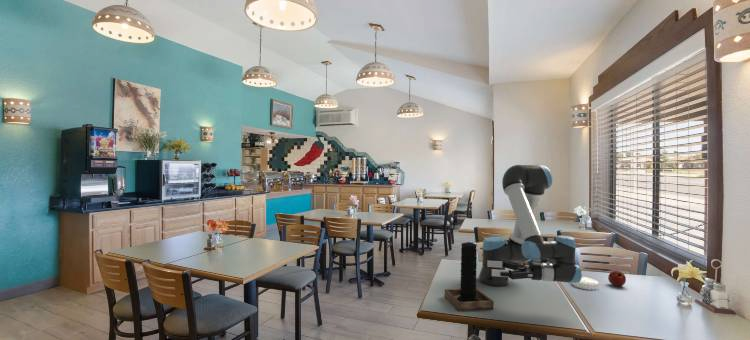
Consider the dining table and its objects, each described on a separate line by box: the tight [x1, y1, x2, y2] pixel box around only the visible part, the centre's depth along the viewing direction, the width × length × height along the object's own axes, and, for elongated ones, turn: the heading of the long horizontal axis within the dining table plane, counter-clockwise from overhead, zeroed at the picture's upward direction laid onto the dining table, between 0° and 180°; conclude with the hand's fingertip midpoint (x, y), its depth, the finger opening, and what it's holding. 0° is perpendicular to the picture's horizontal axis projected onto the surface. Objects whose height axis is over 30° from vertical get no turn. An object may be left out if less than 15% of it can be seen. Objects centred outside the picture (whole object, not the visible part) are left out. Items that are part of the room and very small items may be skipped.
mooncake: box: [571, 276, 600, 291], centre depth 179 cm, size 12×12×4 cm
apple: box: [607, 270, 627, 287], centre depth 180 cm, size 7×8×8 cm
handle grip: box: [457, 241, 479, 302], centre depth 155 cm, size 10×26×10 cm
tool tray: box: [444, 287, 494, 312], centre depth 155 cm, size 16×16×4 cm
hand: (489, 268), depth 153 cm, fingers open, 13 cm apart
